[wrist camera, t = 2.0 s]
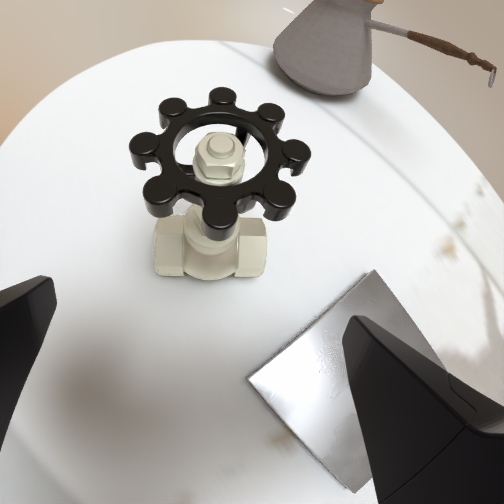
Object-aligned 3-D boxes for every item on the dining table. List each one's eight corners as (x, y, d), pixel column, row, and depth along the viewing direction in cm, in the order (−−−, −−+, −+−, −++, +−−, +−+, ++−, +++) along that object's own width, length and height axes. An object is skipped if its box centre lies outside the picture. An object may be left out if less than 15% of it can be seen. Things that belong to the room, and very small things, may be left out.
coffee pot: (247, 60, 30) (273, -54, 16) (313, 44, 34) (346, -45, 20) (390, 192, 26) (492, 82, 12) (435, 151, 30) (509, 68, 16)
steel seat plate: (347, 488, 17) (354, 493, 16) (246, 378, 19) (248, 379, 18) (443, 380, 21) (452, 380, 20) (366, 273, 23) (374, 269, 22)
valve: (164, 214, 22) (145, 85, 11) (254, 216, 23) (300, 94, 12) (159, 304, 20) (112, 227, 9) (257, 305, 21) (324, 233, 10)
